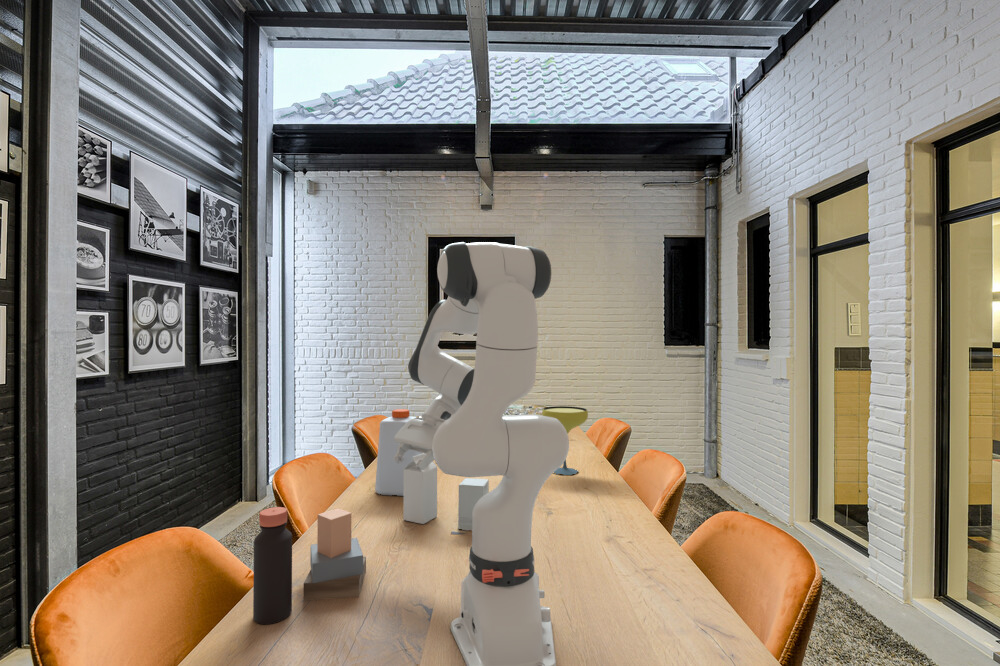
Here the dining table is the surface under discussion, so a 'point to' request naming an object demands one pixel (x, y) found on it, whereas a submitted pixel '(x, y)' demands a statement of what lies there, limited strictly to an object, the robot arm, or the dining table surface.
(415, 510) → the milk carton
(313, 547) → the tower top block
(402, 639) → the dining table surface
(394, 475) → the plastic bottle
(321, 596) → the tower base block
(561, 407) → the cocktail glass
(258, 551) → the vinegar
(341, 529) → the terracotta block
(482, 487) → the supplement box
